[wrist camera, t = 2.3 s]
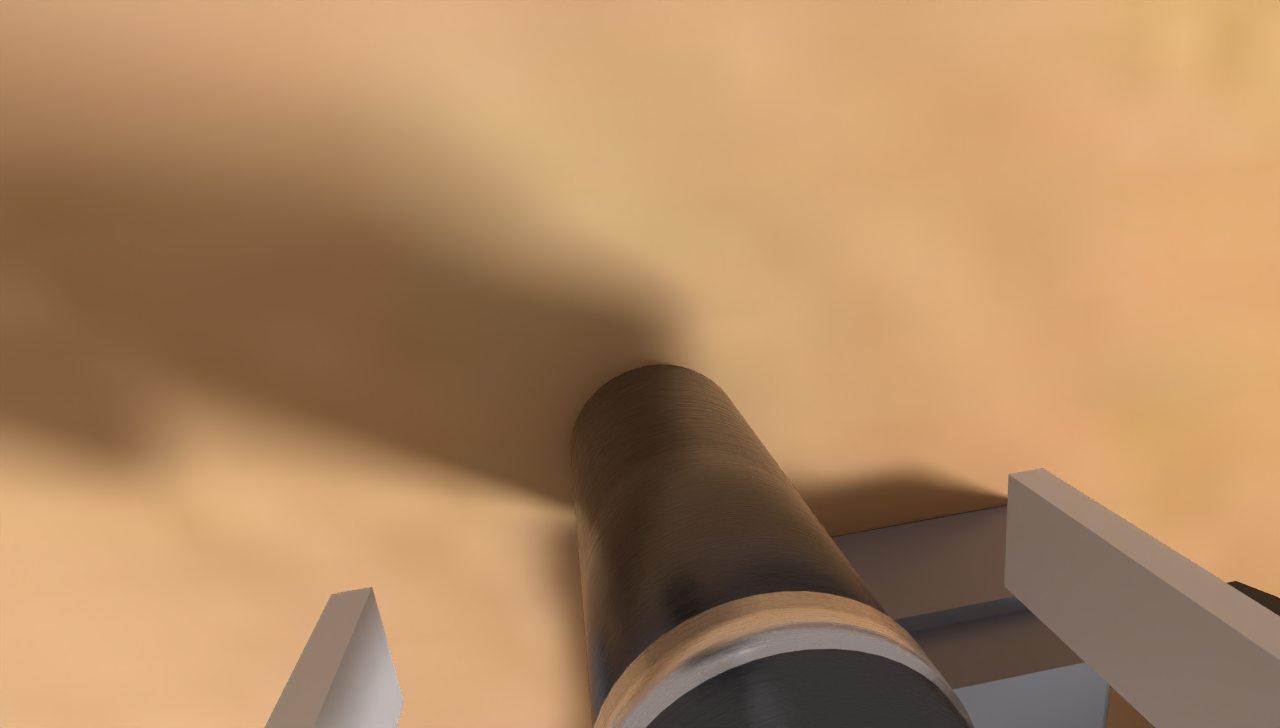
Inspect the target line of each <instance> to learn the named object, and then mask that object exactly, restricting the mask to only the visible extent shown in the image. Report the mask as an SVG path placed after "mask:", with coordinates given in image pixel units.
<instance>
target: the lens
mask: <svg viewBox="0 0 1280 728" xmlns="http://www.w3.org/2000/svg"><path fill="white" fill-rule="evenodd" d="M571 461H572V473H573V486H574V498H575V511H576V524H577V536H578V549H579V561H580V574H581V587H582V599H583V612H584V624H585V637H586V650H587V662H588V675H589V687H590V700H591V713H592V725H593V728H974V726H973V724H972V721H971V719H970V717H969V714H968V712H967V710H966V709H965V707H964V706H963V704H962V703H961V701H960V699H959V698H958V696H957V695H956V694H955V692H954V691H953V690H952V688H951V687H950V686H949V684H948V683H947V682H946V680H945V679H944V678H943V676H942V675H941V674H940V672H939V671H938V670H937V668H936V667H935V666H934V664H933V663H932V662H931V660H930V659H929V658H928V656H927V655H926V654H925V652H924V651H923V650H922V648H921V647H920V646H919V644H918V643H917V642H916V641H915V640H914V639H913V638H912V636H911V635H910V634H909V633H908V632H907V631H906V630H905V629H904V628H903V627H902V626H900V625H899V624H898V623H896V622H895V621H894V620H893V619H891V618H890V617H889V616H888V614H887V613H886V611H885V610H884V609H883V607H882V606H881V605H880V603H879V602H878V601H877V599H876V598H875V596H874V595H873V594H872V592H871V591H870V590H869V588H868V587H867V586H866V584H865V583H864V581H863V580H862V579H861V577H860V576H859V575H858V573H857V572H856V571H855V569H854V568H853V566H852V565H851V564H850V562H849V561H848V560H847V558H846V557H845V556H844V554H843V553H842V551H841V550H840V549H839V547H838V546H837V545H836V543H835V542H834V541H833V539H832V538H831V536H830V535H829V534H828V532H827V531H826V530H825V528H824V527H823V526H822V524H821V523H820V521H819V520H818V519H817V517H816V516H815V515H814V513H813V512H812V511H811V509H810V508H809V506H808V505H807V504H806V502H805V501H804V500H803V498H802V497H801V496H800V494H799V493H798V491H797V490H796V489H795V487H794V486H793V485H792V483H791V482H790V481H789V479H788V478H787V476H786V475H785V474H784V472H783V471H782V470H781V468H780V467H779V466H778V464H777V463H776V461H775V460H774V459H773V457H772V456H771V455H770V453H769V452H768V451H767V449H766V448H765V446H764V445H763V444H762V442H761V441H760V440H759V438H758V437H757V436H756V434H755V433H754V431H753V430H752V429H751V427H750V426H749V425H748V423H747V422H746V421H745V419H744V418H743V416H742V415H741V414H740V412H739V411H738V410H737V408H736V407H735V406H734V404H733V403H732V401H731V400H730V399H729V397H728V396H727V395H726V394H725V393H724V391H723V390H722V389H721V388H720V387H719V386H717V385H716V384H715V383H714V382H713V381H711V380H710V379H708V378H707V377H705V376H703V375H701V374H699V373H697V372H695V371H692V370H689V369H686V368H682V367H676V366H668V365H656V366H647V367H642V368H638V369H634V370H632V371H629V372H626V373H624V374H622V375H620V376H618V377H616V378H614V379H612V380H611V381H609V382H608V383H606V384H605V385H604V386H603V387H601V388H600V389H599V390H598V391H597V392H596V393H595V394H594V395H593V396H592V397H591V398H590V400H589V401H588V402H587V404H586V405H585V406H584V408H583V409H582V411H581V413H580V415H579V417H578V419H577V421H576V424H575V427H574V430H573V435H572V440H571Z"/></svg>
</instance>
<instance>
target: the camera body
mask: <svg viewBox="0 0 1280 728" xmlns="http://www.w3.org/2000/svg"><path fill="white" fill-rule="evenodd" d="M1006 528H1007V505H1006V506H1001V507H996V508H990V509H985V510H979V511H974V512H968V513H963V514H957V515H952V516H946V517H941V518H935V519H930V520H924V521H919V522H913V523H908V524H903V525H897V526H892V527H886V528H881V529H875V530H870V531H864V532H859V533H853V534H848V535H842V536H837V537H831V538H832V539H833V541H834V542H835V543H836V545H837V546H838V547H839V549H840V550H841V551H842V553H843V554H844V556H845V557H846V558H847V560H848V561H849V562H850V564H851V565H852V566H853V568H854V569H855V571H856V572H857V573H858V575H859V576H860V577H861V579H862V580H863V581H864V583H865V584H866V586H867V587H868V588H869V590H870V591H871V592H872V594H873V595H874V596H875V598H876V599H877V601H878V602H879V603H880V605H881V606H882V607H883V609H884V610H885V611H886V613H887V614H888V616H889V617H890V618H891V619H893V620H894V621H895V622H896V623H898V624H899V625H900V626H902V627H903V628H904V629H905V630H906V631H907V632H908V633H909V634H910V635H911V636H912V638H913V639H914V640H915V641H916V642H917V643H918V644H919V646H920V647H921V648H922V650H923V651H924V652H925V654H926V655H927V656H928V658H929V659H930V660H931V662H932V663H933V664H934V666H935V667H936V668H937V670H938V671H939V672H940V674H941V675H942V676H943V678H944V679H945V680H946V682H947V683H948V684H949V686H950V687H951V688H952V690H953V691H954V692H955V694H956V695H957V696H958V698H959V699H960V701H961V703H962V704H963V706H964V707H965V709H966V710H967V712H968V714H969V717H970V719H971V721H972V724H973V726H974V728H1106V724H1107V715H1108V706H1109V697H1110V689H1111V686H1110V685H1109V684H1108V683H1107V682H1106V681H1105V680H1104V679H1103V678H1101V677H1100V676H1099V675H1098V674H1097V673H1096V672H1095V671H1094V670H1093V669H1092V668H1091V667H1090V666H1089V665H1088V664H1087V663H1085V662H1084V661H1083V660H1082V659H1081V658H1080V657H1079V656H1078V655H1077V654H1076V653H1075V652H1074V651H1073V650H1072V649H1071V648H1069V647H1068V646H1067V645H1066V644H1065V643H1064V642H1063V641H1062V640H1061V639H1060V638H1059V637H1058V636H1057V635H1056V634H1055V633H1054V632H1052V631H1051V630H1050V629H1049V628H1048V627H1047V626H1046V625H1045V624H1044V623H1043V622H1042V621H1041V620H1040V619H1039V618H1038V617H1036V616H1035V615H1034V614H1033V613H1032V612H1031V611H1030V610H1029V609H1028V608H1027V607H1026V606H1025V605H1024V604H1023V603H1022V602H1020V601H1019V600H1018V599H1017V598H1016V597H1015V596H1014V595H1013V594H1012V593H1011V592H1010V591H1009V590H1008V589H1007V588H1006V587H1005V586H1004V578H1005V553H1006Z"/></svg>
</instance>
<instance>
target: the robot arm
mask: <svg viewBox="0 0 1280 728" xmlns="http://www.w3.org/2000/svg"><path fill="white" fill-rule="evenodd" d="M1004 586H1005V587H1006V588H1007V589H1008V590H1009V591H1010V592H1011V593H1012V594H1013V595H1014V596H1015V597H1016V598H1017V599H1018V600H1019V601H1020V602H1022V603H1023V604H1024V605H1025V606H1026V607H1027V608H1028V609H1029V610H1030V611H1031V612H1032V613H1033V614H1034V615H1035V616H1036V617H1038V618H1039V619H1040V620H1041V621H1042V622H1043V623H1044V624H1045V625H1046V626H1047V627H1048V628H1049V629H1050V630H1051V631H1052V632H1054V633H1055V634H1056V635H1057V636H1058V637H1059V638H1060V639H1061V640H1062V641H1063V642H1064V643H1065V644H1066V645H1067V646H1068V647H1069V648H1071V649H1072V650H1073V651H1074V652H1075V653H1076V654H1077V655H1078V656H1079V657H1080V658H1081V659H1082V660H1083V661H1084V662H1085V663H1087V664H1088V665H1089V666H1090V667H1091V668H1092V669H1093V670H1094V671H1095V672H1096V673H1097V674H1098V675H1099V676H1100V677H1101V678H1103V679H1104V680H1105V681H1106V682H1107V683H1108V684H1109V685H1110V686H1111V687H1112V688H1113V689H1114V690H1115V691H1116V692H1117V693H1118V694H1120V695H1121V696H1122V697H1123V698H1124V699H1125V700H1126V701H1127V702H1128V703H1129V704H1130V705H1131V706H1132V707H1133V708H1134V709H1136V710H1137V711H1138V712H1139V713H1140V714H1141V715H1142V716H1143V717H1144V718H1145V719H1146V720H1147V721H1148V722H1149V723H1150V724H1152V725H1153V726H1154V727H1155V728H1280V598H1278V597H1276V596H1273V595H1271V594H1268V593H1266V592H1263V591H1260V590H1258V589H1255V588H1253V587H1250V586H1248V585H1245V584H1242V583H1240V582H1237V581H1234V582H1228V583H1226V582H1224V581H1222V580H1221V579H1219V578H1218V577H1216V576H1214V575H1213V574H1211V573H1210V572H1208V571H1206V570H1205V569H1203V568H1202V567H1200V566H1198V565H1197V564H1195V563H1194V562H1192V561H1190V560H1189V559H1187V558H1186V557H1184V556H1182V555H1181V554H1179V553H1178V552H1176V551H1174V550H1173V549H1171V548H1170V547H1168V546H1167V545H1165V544H1163V543H1162V542H1160V541H1159V540H1157V539H1155V538H1154V537H1152V536H1151V535H1149V534H1147V533H1146V532H1144V531H1143V530H1141V529H1139V528H1138V527H1136V526H1135V525H1133V524H1131V523H1130V522H1128V521H1127V520H1125V519H1123V518H1122V517H1120V516H1119V515H1117V514H1115V513H1114V512H1112V511H1111V510H1109V509H1107V508H1106V507H1104V506H1103V505H1101V504H1099V503H1098V502H1096V501H1095V500H1093V499H1091V498H1090V497H1088V496H1087V495H1085V494H1083V493H1082V492H1080V491H1079V490H1077V489H1075V488H1074V487H1072V486H1071V485H1069V484H1067V483H1066V482H1064V481H1063V480H1061V479H1059V478H1058V477H1056V476H1055V475H1053V474H1051V473H1050V472H1048V471H1047V470H1045V469H1043V468H1041V469H1035V470H1030V471H1024V472H1018V473H1013V474H1009V479H1008V503H1007V528H1006V553H1005V578H1004ZM403 703H404V700H403V696H402V693H401V689H400V685H399V682H398V678H397V675H396V671H395V667H394V664H393V660H392V657H391V653H390V650H389V646H388V642H387V639H386V635H385V632H384V628H383V625H382V621H381V617H380V614H379V610H378V607H377V603H376V599H375V596H374V592H373V589H372V587H369V588H364V589H358V590H352V591H347V592H341V593H335V594H331V596H330V598H329V600H328V602H327V604H326V606H325V608H324V610H323V612H322V614H321V616H320V618H319V620H318V622H317V624H316V626H315V628H314V630H313V632H312V634H311V636H310V638H309V640H308V642H307V644H306V646H305V648H304V650H303V652H302V654H301V656H300V658H299V660H298V662H297V664H296V666H295V668H294V670H293V672H292V674H291V676H290V678H289V680H288V682H287V684H286V686H285V688H284V690H283V692H282V694H281V696H280V698H279V700H278V702H277V704H276V706H275V708H274V710H273V712H272V714H271V716H270V718H269V720H268V722H267V724H266V726H265V728H397V725H398V721H399V717H400V714H401V710H402V706H403Z"/></svg>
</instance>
